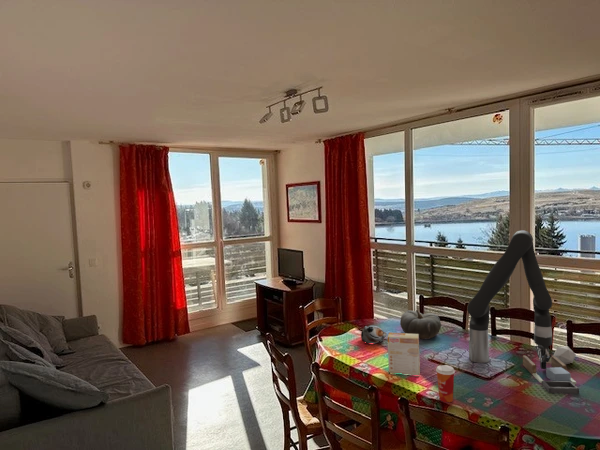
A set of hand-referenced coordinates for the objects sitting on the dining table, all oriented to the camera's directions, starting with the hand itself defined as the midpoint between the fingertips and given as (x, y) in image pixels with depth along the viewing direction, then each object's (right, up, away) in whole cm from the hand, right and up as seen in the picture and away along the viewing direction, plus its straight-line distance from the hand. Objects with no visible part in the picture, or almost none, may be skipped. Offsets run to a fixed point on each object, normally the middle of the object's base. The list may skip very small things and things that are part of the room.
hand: (543, 368), depth 199 cm
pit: (-5, -2, -20) cm, 21 cm away
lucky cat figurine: (-74, -2, +51) cm, 90 cm away
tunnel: (0, -1, 0) cm, 1 cm away
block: (+1, -2, -10) cm, 10 cm away
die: (+16, 0, +8) cm, 18 cm away
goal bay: (-1, -2, -10) cm, 10 cm away
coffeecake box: (-68, -4, +5) cm, 68 cm away
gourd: (-43, 0, +59) cm, 73 cm away
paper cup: (-57, -5, -24) cm, 62 cm away
